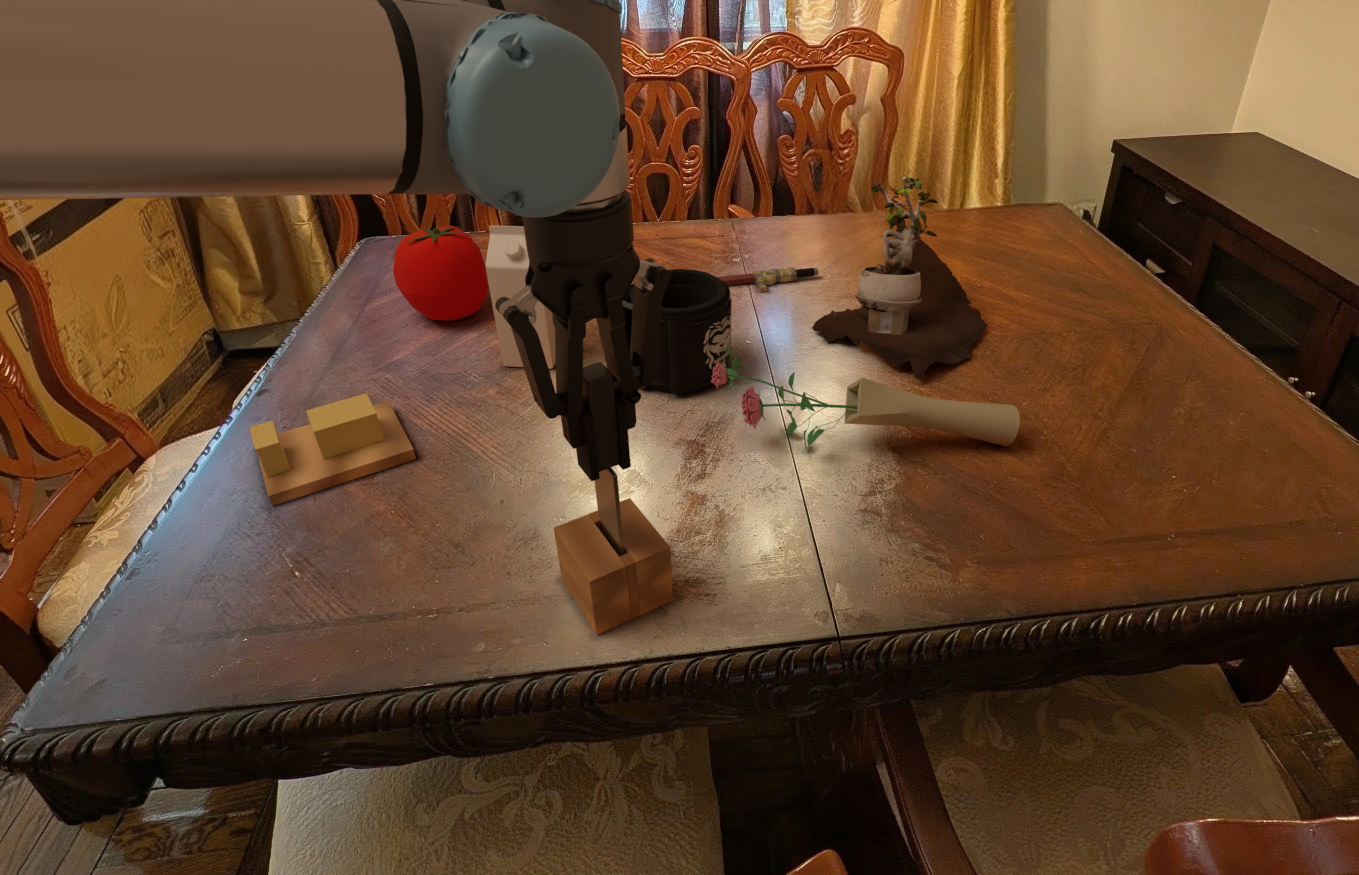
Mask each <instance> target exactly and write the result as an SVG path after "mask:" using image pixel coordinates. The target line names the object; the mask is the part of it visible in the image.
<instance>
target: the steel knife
mask: <svg viewBox="0 0 1359 875" xmlns="http://www.w3.org/2000/svg"><path fill="white" fill-rule="evenodd" d="M583 405H584V406H585V407H586V408H587V409H588V410H589V411H590V412H591V413H592V414H593V423H594V432H595V441H596V450H597V459H598V468H599V477H600V479H597V480H594V481H593V482H594V487H595V497H596V505H597V510H598V515H599V523H600V531H601V533H602V534H603V535H604V537H605V538H606V539H607V541H608V542H609V544H610V545H611V546H612V548H613V549H614V550H615V552H616V553H617V554H618V556H619V557H620V556H622V555H624V554H625V552H624V541H623V531H622V520H621V510H620V502H621V500H620V491H619V479H618V474H617V472H616V471H614V469H613V467H616V466H619V464H621V462H620V451H619V440H618V429H617V418H616V407H615V396H614V385H613V374H612V373H611V372H610V371H609V370H608V369H607V365H606V364H605V365H604V363H603V362H602V361H598V362H595V363H591V364H588V365H585V366H584V365H583Z"/></svg>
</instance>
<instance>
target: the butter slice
mask: <svg viewBox="0 0 1359 875" xmlns="http://www.w3.org/2000/svg"><path fill="white" fill-rule="evenodd" d="M249 429H250V434H251V438H252V443H253V446H254V450H255V452H256V454H257V458H258V457H259V458H258V460H259V459H260V462H261V464H262V466H263V469H264V471H265V473H266V476H267V477H270V476H273V475H276V474H280V473H283V472H286V471H289V470H290V467H289V463H288V460H287V457H286V453H285V450H284V447H283V445H282V442H281V440H280V437H279V435H278V433H279V432H278V430H277V427H276V425H275V422H274V421H273V420H269V421H266V422H263V423H259V424H256V425H252V426H249ZM260 462H259V463H260Z"/></svg>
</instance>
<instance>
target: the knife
mask: <svg viewBox="0 0 1359 875" xmlns="http://www.w3.org/2000/svg"><path fill="white" fill-rule="evenodd" d="M819 273H820V272H819V269H818V267H806V268H797V269H796V268H795V267H785V268H774V269H765V270H764V269H762V270H756V271H752V273H751V272H750V273H743V274H734V275H733V274H731V275H724V276H717V277H718V278H719V279H721V280H722V281H723V282H725V283H726V284H727V285H728V286H731V285H733V286H735V285H742V284H743V285H744V284H752V283H754V284H755V285H756V288H758V291H759V293H765V292H767V291H768V287H767V286H771V285H774V284H776V283H785V282H786V283H787V282H792V281H794V282H795V281H797V279H800V278H810V277H815V276H818V275H819Z"/></svg>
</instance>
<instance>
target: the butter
mask: <svg viewBox="0 0 1359 875" xmlns="http://www.w3.org/2000/svg"><path fill="white" fill-rule="evenodd" d="M373 405H374V404H373V403H372V401H371V399H370V397H369V395H368V393H366V392H365V393H363V394H358V395H356V396H352V397H349V398H345V399H342V400H338V401H335V402H331V403H327V404H325V405H320V406H317V407H314V408H310V409H307V410H305V412H306V415H307V418H308V422H309V424H311V426H312V429H313V432H314V435H315V437H316V440H317V443H318V446H319V448H320V451H321V454H322V457H323V459H327V458H330V457H334V456H337V455H340V454H343V453H346V452H350V451H353V450H356V449H359V448H362V447H366V446H369V445H372V444H375V443H378V442H382V441H385V440H384V436H383V433H382V430H381V426H380V423H379V420H378V417H377V413H376V411H375V409H374V407H373Z"/></svg>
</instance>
